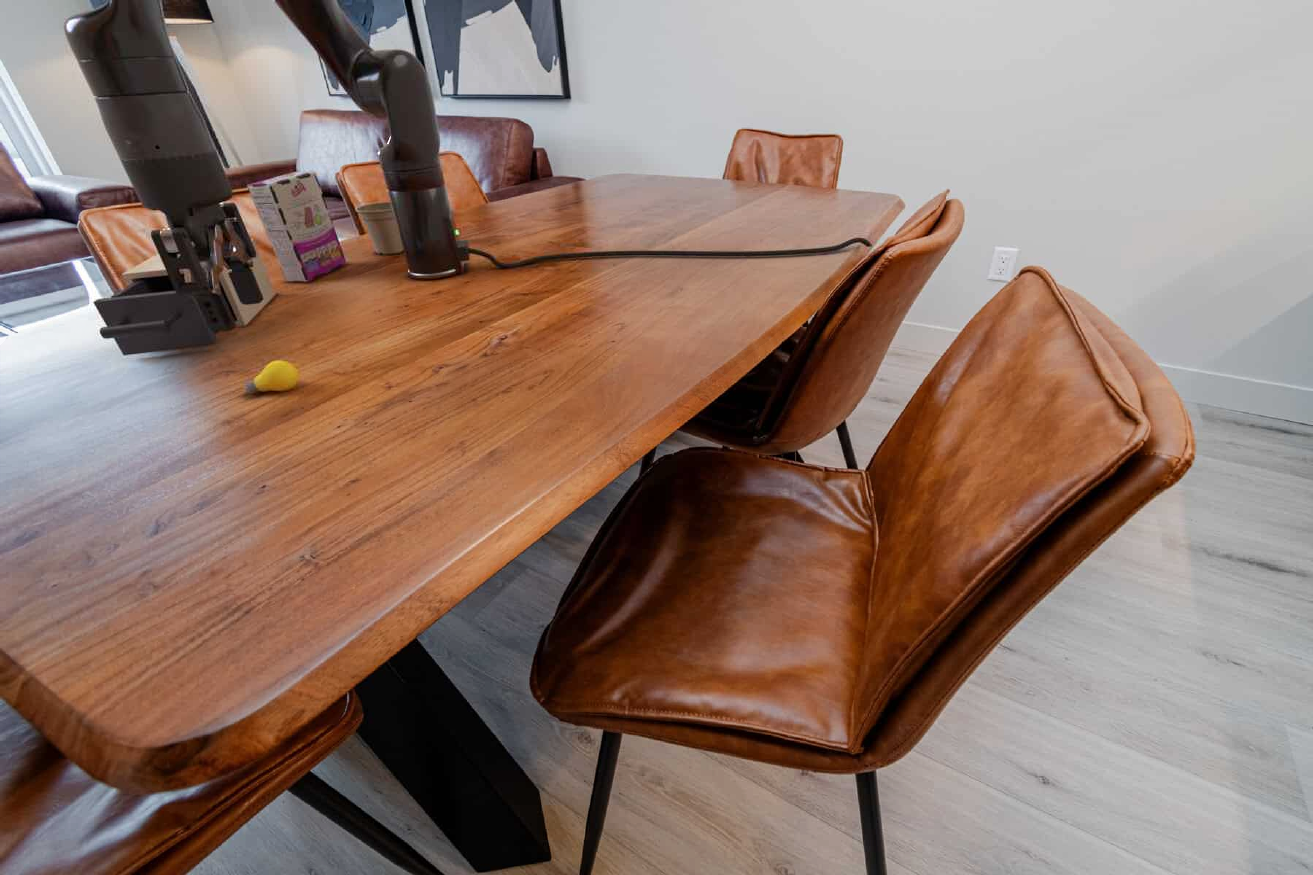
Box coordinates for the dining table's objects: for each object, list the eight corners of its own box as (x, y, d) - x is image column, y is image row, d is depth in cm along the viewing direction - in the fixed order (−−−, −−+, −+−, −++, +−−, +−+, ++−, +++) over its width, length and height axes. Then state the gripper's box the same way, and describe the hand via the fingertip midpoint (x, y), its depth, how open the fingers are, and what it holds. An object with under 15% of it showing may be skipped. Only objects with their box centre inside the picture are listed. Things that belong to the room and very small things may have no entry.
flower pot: (406, 242, 126) (395, 199, 122) (425, 249, 120) (414, 204, 116) (361, 252, 121) (347, 207, 116) (379, 260, 115) (365, 213, 110)
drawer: (199, 359, 76) (172, 304, 72) (103, 371, 74) (69, 315, 70) (249, 310, 91) (228, 262, 87) (169, 319, 89) (145, 271, 85)
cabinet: (245, 325, 88) (218, 264, 83) (154, 336, 86) (121, 274, 81) (275, 294, 100) (253, 238, 95) (196, 303, 98) (169, 247, 93)
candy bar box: (324, 264, 115) (292, 171, 106) (347, 264, 114) (317, 171, 105) (283, 282, 106) (244, 183, 97) (307, 283, 105) (270, 182, 96)
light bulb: (304, 389, 69) (282, 369, 66) (256, 409, 69) (232, 390, 66) (306, 370, 71) (284, 349, 68) (259, 389, 71) (236, 370, 68)
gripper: (178, 156, 51) (255, 336, 59) (239, 140, 62) (295, 291, 71) (77, 163, 49) (171, 345, 58) (159, 145, 61) (226, 298, 70)
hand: (239, 315), depth 64 cm, fingers open, 8 cm apart
